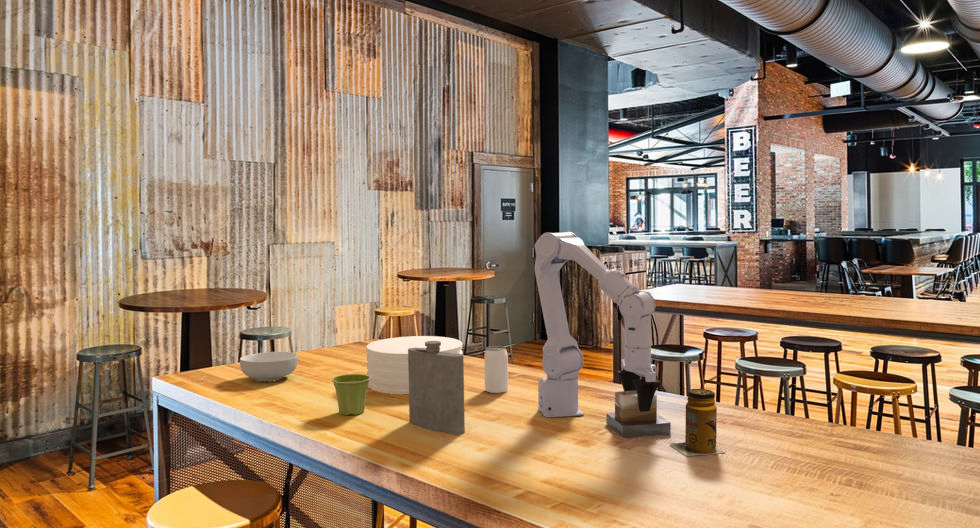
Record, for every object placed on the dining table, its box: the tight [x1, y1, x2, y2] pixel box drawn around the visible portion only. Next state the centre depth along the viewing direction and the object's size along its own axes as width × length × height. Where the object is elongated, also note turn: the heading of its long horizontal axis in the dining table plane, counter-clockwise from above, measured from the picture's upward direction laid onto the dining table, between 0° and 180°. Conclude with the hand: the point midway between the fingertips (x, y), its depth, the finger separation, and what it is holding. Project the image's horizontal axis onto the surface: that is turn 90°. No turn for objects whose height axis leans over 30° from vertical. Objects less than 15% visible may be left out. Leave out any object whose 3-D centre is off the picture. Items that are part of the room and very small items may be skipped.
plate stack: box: [366, 335, 464, 395], centre depth 194 cm, size 28×28×12 cm
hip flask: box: [408, 341, 466, 436], centre depth 150 cm, size 16×4×20 cm, turn 52°
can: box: [483, 345, 509, 394], centre depth 182 cm, size 6×6×12 cm
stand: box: [605, 412, 672, 438], centre depth 148 cm, size 11×10×2 cm
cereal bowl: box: [239, 351, 299, 383], centre depth 200 cm, size 17×17×7 cm
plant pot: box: [331, 373, 371, 416], centre depth 163 cm, size 9×9×9 cm
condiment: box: [669, 388, 725, 457], centre depth 134 cm, size 7×8×12 cm
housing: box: [614, 390, 658, 422], centre depth 147 cm, size 5×8×6 cm, turn 100°
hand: (637, 406), depth 147 cm, fingers open, 7 cm apart
